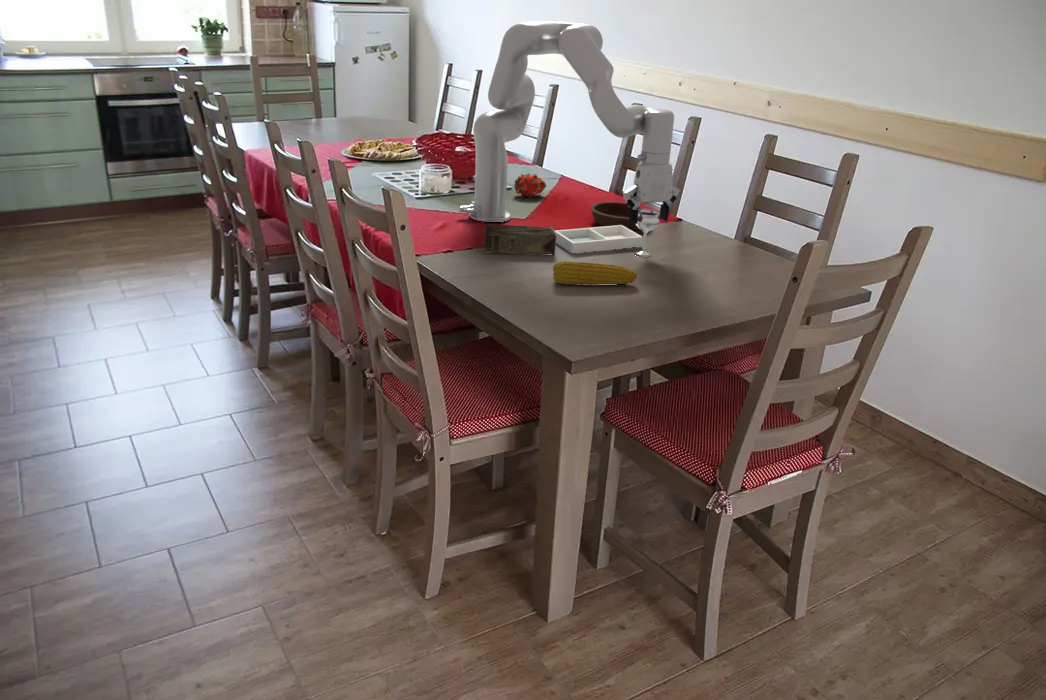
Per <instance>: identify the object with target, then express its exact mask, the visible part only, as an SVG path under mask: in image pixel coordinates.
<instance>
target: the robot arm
mask: <svg viewBox="0 0 1046 700" xmlns="http://www.w3.org/2000/svg"><path fill="white" fill-rule="evenodd" d="M603 44H604V39H603V36H602V33H601V31H600V30H599V29H598V28H597V27H595V26H594V25H592V24H587V23H586V24H585V23H575V22H574V23H573V22H564V21H556V20H554V21H553V20H548V21H546V20H545V21H542V20H541V21H528V22H527V21H526V22H519V23H516V24H514V25H512V26H510V27H509V28H508V29H507V31H506V32H505V34H504V35H503V37H502V41H501V45H500V50H499V54H498V57H497V61H496V64H495V65H494V66H495V67H494V70H493V74H492V77H491V81H490V84H489V87H488V92H487V99H488V102H489V104H490V105H491V106H492V107H493V108H494V110H490V111H487V112H483V113H482V114H481V115H479V116H478V117H477V118H476V120H475V122H474V123H473V137H474V138H473V139H474V145H475V146H474V147H475V173H474V174H475V178H474V180H475V181H474V200H473V201H471V203H470V204H468V205H459V206H458V210H459V211H458V212H459V213H466V214H468V217H469V216H470V217H472V218H474V219H477V220H481V221H486V222H501V223H505V222H507V221H509V220H510V219H511V213H510V212H508V211H507V210H506V208H507V207H506V206H507V205H506V204H507V189H508V168H509V167H508V164H509V163H508V161H509V158H508V152H507V149H506V146H505V143H509V142H512V141H516V140H517V139H518V138H520V137H521V136H522V134H523V133H524V131H525V128H526V125H527V123H528V119H529V116H530V113H531V110H532V107H533V104H534V100H535V96H536V95H535V94H536V87H535V84H534V82H533V80H532V78H531V77H530V76H529V75H528V74H526V73H527V68H528V64H529V62H528V61H529V60H528V59H529V58H528V56H539V55H540V56H541V55H549V54H550V55H552V54H558V55H562V56H563V57H564V58H565V60H566V61H567V63H568V64H569V66H570V67H571V68H572V69H573V70H574V72H575V73H576V74H577V76H578V77H579V79H580V80H581V81H582V82H583V84H584V85H585V86H586V89H587V91H588V97H589V100H590V102H591V103H590V104H591V106H592V108H593V110H594V113H595V114H596V116H597V117H598V119H599V120H600V121H601V123H602V124H603V126H604V127H605V128H606V129H607V131H609V133H610V134H612V135H613V136H615V137H616V138H621V139H624V138H628V137H631V136H632V137H633V136H635V135H640V134H642V143H641V151H640V154H638V155H637V160H638V161H640V162H638V164H637V166H636V170H635V174H634V179H633V184H632V186H631V187H630V188H628V189H626V190H625V191H623V192H622V197H623V200H624V203H626V204H627V205H628V207H630V212H629V221H630V222H631V223H633V224H637V223H638V214H639V210H638V209H637V208H638V207H640V205H641V204H642V203H643V204H651V203H652V204H653V203H662V204H660V209H659V212H660V215H659V219H660V220H662V221H664V222H668V220H669V215H670V207H672V206H673V203H674V202H675V201H676V200H677V196H678V195H679V193H680V189H679V188H678V187H676V186H674V185H673V184H674V183H673V182H674V181H673V180H674V178H673V177H674V175H673V174H674V172H673V164H672V163H671V162H670V159H671V150H672V143H673V132H674V123H675V114H674V112H673V111H672V110H669V109H663V108H651V107H649V106H645V105H643V104H631V105H627V106H625V105H624V104H623V102H622V101H621V100H620V99H619V97H618V95H617V94H616V92H615V90H614V88H613V84H612V78H613V74H614V72H615V70H614V66H613V65H612V63H611V62H610V60H609V59H608V58H607V57H606V55H605V54H604V53H603V51H602V48H603ZM631 196H632V198H631ZM470 217H469V218H470ZM504 221H505V222H504Z"/></svg>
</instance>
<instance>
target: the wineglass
mask: <svg viewBox="0 0 1046 700" xmlns="http://www.w3.org/2000/svg"><path fill="white" fill-rule="evenodd" d="M638 210H639V214H638V223H637V224H636V225H637V226H638V228H639V229H641V230H642V233H643V240H642V251H641V250H639V252H638V251H635V252H636V253H637V254H639V255H648V254H649V253H650V252H648V253H647V251H645V246H646V242H647V235H648V233H649V232H651V231H654V230H655V229H656V228H657V227H658V226H659V224H660V220H661V219H660V218H659V216H660V211H659V210H655V209H651V208H644V209H638Z"/></svg>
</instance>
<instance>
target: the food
mask: <svg viewBox="0 0 1046 700" xmlns="http://www.w3.org/2000/svg"><path fill="white" fill-rule="evenodd" d="M552 270H553V271H552V272H553V275H552V276H553V277H552V279H553V281H554V282H555V283H556V284H560V285H561V284H562V285H565V284H566V285H568V284H627V285H629V284H628V283H630V284H633V283H634V282H635V281H636V280H637V277H638V274H637V273H636V272H635V271H634V270H632V269H631V268H629V267H626V266H621V265H617V264H616V265H614V264H605V263H597V262H595V263H594V262H581V261H579V262H575V261H560V262H557V263H555V264H553V266H552Z"/></svg>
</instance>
